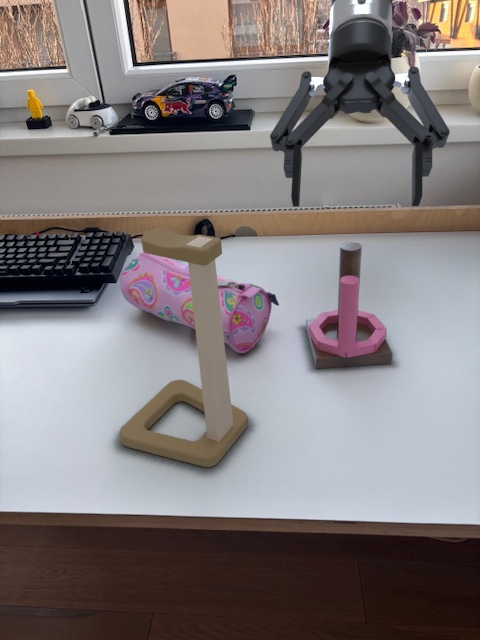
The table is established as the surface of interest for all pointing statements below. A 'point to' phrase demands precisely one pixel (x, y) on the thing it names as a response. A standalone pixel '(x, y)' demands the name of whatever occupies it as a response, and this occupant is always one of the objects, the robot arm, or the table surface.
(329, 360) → the stand
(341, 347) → the pink ring with handle
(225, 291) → the pencil case
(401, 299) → the table surface
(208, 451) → the headphone stand
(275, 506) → the table surface
